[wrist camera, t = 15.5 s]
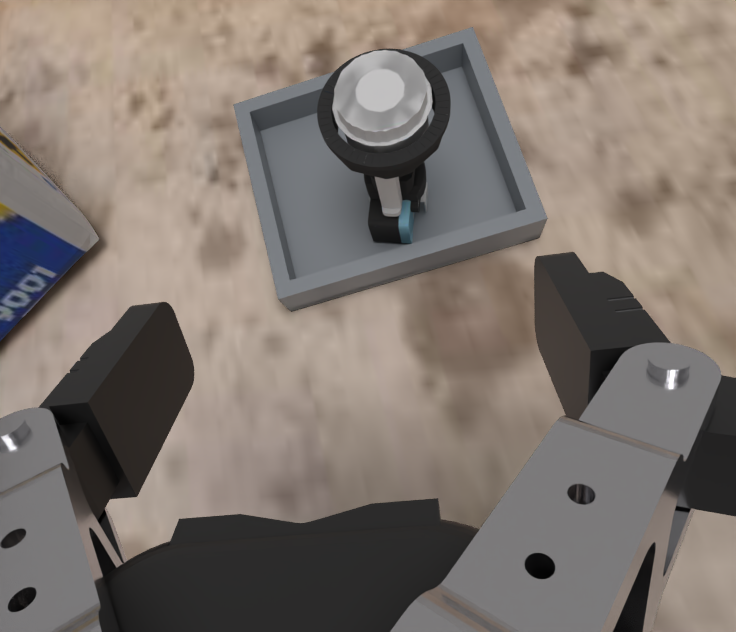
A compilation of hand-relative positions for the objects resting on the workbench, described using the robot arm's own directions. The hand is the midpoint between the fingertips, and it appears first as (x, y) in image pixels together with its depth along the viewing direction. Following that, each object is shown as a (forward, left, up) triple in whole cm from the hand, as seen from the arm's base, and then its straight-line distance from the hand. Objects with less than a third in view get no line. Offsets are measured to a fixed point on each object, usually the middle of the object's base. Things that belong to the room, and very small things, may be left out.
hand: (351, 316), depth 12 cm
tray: (-2, -12, -17) cm, 21 cm away
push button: (-3, -11, -17) cm, 20 cm away
